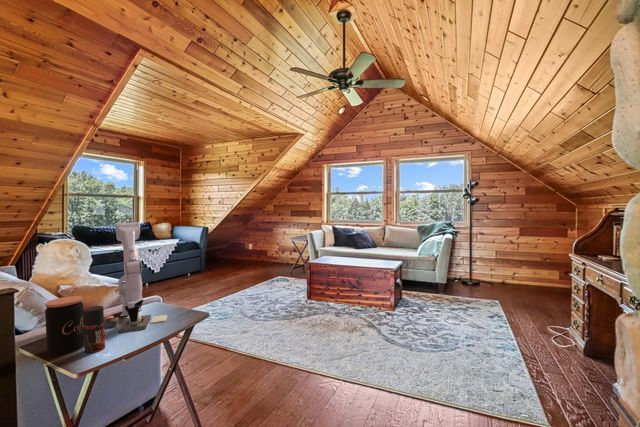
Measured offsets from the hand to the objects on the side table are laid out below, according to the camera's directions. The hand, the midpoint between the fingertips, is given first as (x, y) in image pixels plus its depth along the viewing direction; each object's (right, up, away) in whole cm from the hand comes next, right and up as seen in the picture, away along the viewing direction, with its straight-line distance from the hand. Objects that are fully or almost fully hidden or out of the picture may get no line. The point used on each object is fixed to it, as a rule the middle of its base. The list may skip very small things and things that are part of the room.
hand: (135, 319), depth 133 cm
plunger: (-11, -2, 0) cm, 11 cm away
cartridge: (0, -2, 0) cm, 2 cm away
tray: (+7, -2, +6) cm, 10 cm away
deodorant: (-1, -3, -23) cm, 23 cm away
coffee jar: (-12, -4, -22) cm, 25 cm away
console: (-11, -3, 0) cm, 11 cm away
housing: (0, -2, 0) cm, 2 cm away
